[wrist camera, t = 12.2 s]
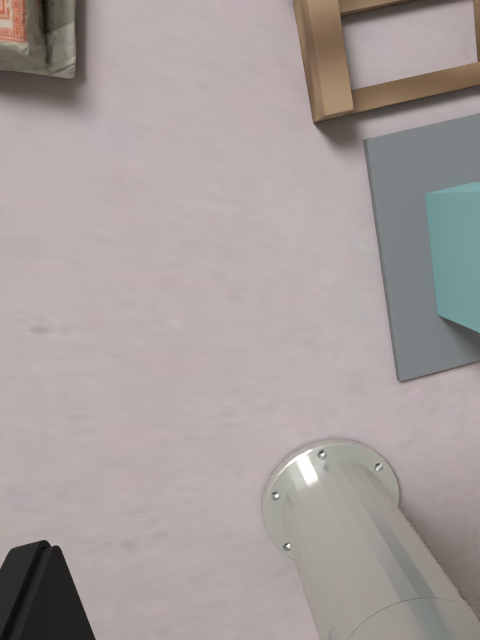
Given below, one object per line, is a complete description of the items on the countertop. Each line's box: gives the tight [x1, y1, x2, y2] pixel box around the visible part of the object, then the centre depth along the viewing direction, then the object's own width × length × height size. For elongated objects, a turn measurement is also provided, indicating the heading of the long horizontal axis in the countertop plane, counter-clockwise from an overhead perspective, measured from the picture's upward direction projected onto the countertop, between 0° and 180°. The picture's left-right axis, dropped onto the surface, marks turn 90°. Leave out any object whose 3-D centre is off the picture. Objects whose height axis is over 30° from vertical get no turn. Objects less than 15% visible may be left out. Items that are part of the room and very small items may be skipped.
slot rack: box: [293, 0, 480, 123], centre depth 32 cm, size 8×15×3 cm, turn 103°
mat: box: [363, 113, 480, 382], centre depth 37 cm, size 20×12×1 cm, turn 13°
